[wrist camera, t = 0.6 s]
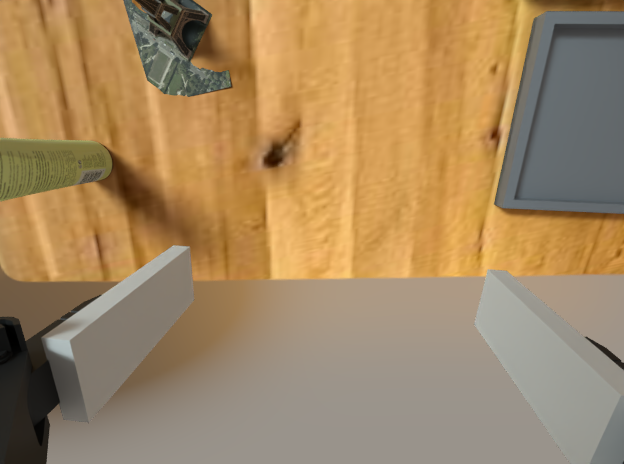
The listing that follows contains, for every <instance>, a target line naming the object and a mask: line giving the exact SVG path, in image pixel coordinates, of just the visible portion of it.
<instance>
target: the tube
mask: <svg viewBox="0 0 624 464" xmlns="http://www.w3.org/2000/svg"><path fill="white" fill-rule="evenodd" d="M111 170H112V158H111V156H110V154H109V152H108V150H107V149H106V148H105V147H104V146H103V145H101V144H100V143H98V142H95V141H82V140H38V139H14V138H0V201H4V200H8V199H13V198H17V197H22V196H26V195H31V194H35V193H40V192H45V191H49V190H54V189H59V188H64V187H68V186H73V185H78V184H84V183H89V182H94V181H98V180H102V179H105V178H106V177H108V175H109V174H110V173H111Z"/></svg>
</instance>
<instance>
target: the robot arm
mask: <svg viewBox="0 0 624 464" xmlns="http://www.w3.org/2000/svg"><path fill="white" fill-rule="evenodd" d="M193 301H194V291H193V279H192V267H191V255H190V247H188V246H175V245H173V246H172V247H171V248H169V249H168V250H166V251H165V252H163V253H162V254H160V255H159V256H158V257H156V258H155V259H153V260H152V261H150V262H149V263H148V264H146V265H145V266H143V267H142V268H140V269H139V270H137V271H136V272H135V273H133V274H132V275H130V276H129V277H127V278H126V279H125V280H123V281H122V282H120V283H119V284H117V285H116V286H115V287H113V288H112V289H110V290H109V291H107V292H106V293H104V294H103V295H99V296H97V297H95V298H92V299H90V300H88V301H85V302H83V303H82V304H80V305H79V306H77V307H76V308H74V309H73V310H72V311H71V312H69V313H67V314H65V315H64V316H62V317H61V319H60V320H57V321H55V322H54V323H52V324H51V325H49V326H48V327H46V328H45V329H43V330H42V331H40V332H39V333H37V334H36V335H34V336H33V337H31V338H30V339H28V340H27V341H25V338H24V335H23V332H22V328H21V325H20V321H19V319H17V318H14V317H0V464H46V462H47V449H48V438H49V427H50V424H49V420H48V417H47V414H48V413H49V412H51V410H53V409H54V408H55V407H56V406H57V405H58V404H59V405H60V409H61V412H62V416H63V419H64V420H71V421H79V422H88V423H89V422H90V421H91V420H92V419H93V418H94V416H95V415H96V414H97V413H98V412H99V411H100V409H101V408H102V407H103V406H104V405H105V403H106V402H107V401H108V400H109V399H110V398H111V397H112V395H113V394H114V393H115V392H116V391H117V390H118V388H119V387H120V386H121V385H122V384H123V382H124V381H125V380H126V379H127V378H128V377H129V376H130V374H131V373H132V372H133V371H134V370H135V369H136V367H137V366H138V365H139V364H140V363H141V362H142V360H143V359H144V358H145V357H146V355H147V354H148V353H149V352H150V351H151V350H152V349H153V347H154V346H155V345H156V344H157V343H158V342H159V340H160V339H161V338H162V337H163V336H164V335H165V333H166V332H167V331H168V330H169V329H170V328H171V326H172V325H173V324H174V323H175V322H176V321H177V319H178V318H179V317H180V316H181V315H182V313H183V312H184V311H185V310H186V309H187V307H188V306H189V305H190V304H191V303H192V302H193ZM474 325H475V326H476V328H477V329H478V331H479V332H480V334H481V335H482V337H483V338H484V340H485V341H486V342H487V344H488V345H489V347H490V348H491V350H492V351H493V352H494V354H495V356H496V357H497V358H498V360H499V361H500V363H501V364H502V365H503V367H504V369H505V370H506V372H507V373H508V374H509V375H510V377H511V379H512V380H513V382H514V383H515V384H516V386H517V388H518V389H519V390H520V392H521V393H522V395H523V396H524V397H525V399H526V401H527V402H528V403H529V405H530V406H531V408H532V409H533V411H534V412H535V414H536V415H537V416H538V418H539V419H540V421H541V422H542V424H543V425H544V427H545V428H546V430H547V431H548V432H549V434H550V435H551V437H552V438H553V440H554V441H555V442H556V444H557V446H558V447H559V448H560V450H561V451H562V453H563V454H564V456H565V457H566V459H567V460H568V462H569V463H570V464H624V363H622V362H621V360H620V359H619V358H618V357H616V356H615V355H614V354H613V353H611V352H610V351H609V350H608V349H607V348H605V347H603V346H602V345H600V344H598V343H596V342H595V341H593V340H591V339H589V338H588V337H584V336H583V335H581V334H580V333H579V332H578V331H577V330H575V329H574V328H573V327H572V326H571V325H570V324H568V323H567V322H566V321H565V320H564V319H563V318H561V317H560V316H559V315H558V314H556V312H554V311H553V310H552V309H551V308H550V307H548V306H547V305H546V304H545V303H544V302H543V301H541V300H540V299H539V298H538V297H537V296H535V295H534V294H533V293H532V292H531V291H530V290H528V289H527V288H526V287H525V286H524V285H523V284H521V283H520V282H519V281H518V280H517V279H515V278H514V277H513V276H512V275H511V274H510V273H508V272H507V271H502V270H489V269H488V271H487V275H486V279H485V283H484V287H483V291H482V295H481V299H480V303H479V307H478V311H477V315H476V319H475V323H474Z"/></svg>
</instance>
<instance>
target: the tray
mask: <svg viewBox="0 0 624 464" xmlns="http://www.w3.org/2000/svg"><path fill="white" fill-rule="evenodd" d="M494 204H495V205H497V206H499V207H501V208H511V209H532V210H554V211H576V212H597V213H619V214H624V12H612V11H546V12H545V13H543V14H541V15H539V16H538V17H536V18H534V21H533V25H532V30H531V35H530V39H529V44H528V49H527V53H526V58H525V63H524V67H523V72H522V77H521V81H520V86H519V91H518V95H517V100H516V105H515V109H514V114H513V119H512V123H511V128H510V132H509V137H508V142H507V146H506V151H505V156H504V160H503V165H502V170H501V174H500V179H499V184H498V188H497V193H496V198H495V202H494Z"/></svg>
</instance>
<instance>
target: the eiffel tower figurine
mask: <svg viewBox="0 0 624 464" xmlns="http://www.w3.org/2000/svg"><path fill="white" fill-rule="evenodd" d="M123 1H124V4H125V7H126V11H127V14H128V17H129V21H130V24H131V28H132V31H133V34H134V38H135V41H136V44H137V48H138V51H139V54H140V58H141V61H142V64H143V68H144V71H145V74H146V77H147V80H148V81H149V82H150V83H152V84H153V85H154V86H156V87H157V88H159V89H160V90H161V91H162V92H163V93H164V94H170V95H178V94H179V95H183V96H185V95H186V96H188V97H190V96H194V95H198V94H202V93H206V92H210V91H215V90H219V89H223V88H227V87H231V82H230V76H229V70H227V71H223V72H214V71H212V70H207V69H204V68H201V69H199V68H197V67H195V66H193V64H192V63H191V62H190V61H191V59H192V57H193V55H194V53H195V50H196V48H197V46H198V44H199V42H200V40H201V38H202V36H203V34H204V31H205V29H206V27H207V25H208V23H209V21H210V19H211V17H212V14H211V13H209V12H208V11H207V10H205V9H204V8H202V7H201V6H200V5H198V4H197V3H196V2H194V1H193V0H135V1H136V2H138V3H139V4H140V5H141V6H142V7H141V8H142V10H144V11H145V12H147V14H146V13H144V12H142V11H141V10H139V9H138V8H137V7H136V6H135V5H134V4H133V3H132V0H123Z"/></svg>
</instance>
